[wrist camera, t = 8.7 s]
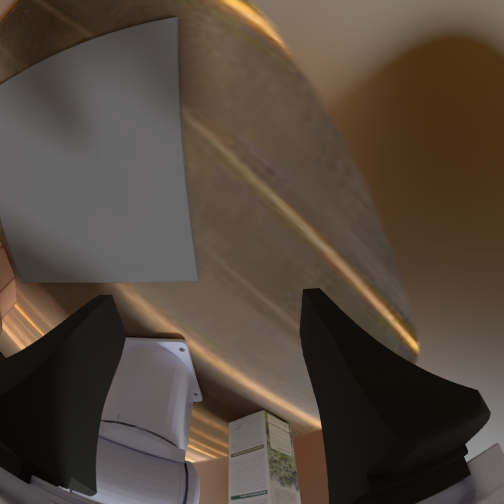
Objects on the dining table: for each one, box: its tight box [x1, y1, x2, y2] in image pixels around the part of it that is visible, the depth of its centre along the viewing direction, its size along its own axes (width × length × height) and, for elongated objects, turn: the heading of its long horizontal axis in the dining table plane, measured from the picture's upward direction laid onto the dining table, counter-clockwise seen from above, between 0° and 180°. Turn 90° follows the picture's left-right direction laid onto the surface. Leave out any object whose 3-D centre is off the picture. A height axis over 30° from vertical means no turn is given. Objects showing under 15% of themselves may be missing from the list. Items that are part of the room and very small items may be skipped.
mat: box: [0, 17, 199, 283], centre depth 16 cm, size 18×18×1 cm
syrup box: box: [229, 410, 301, 504], centre depth 24 cm, size 6×6×14 cm
